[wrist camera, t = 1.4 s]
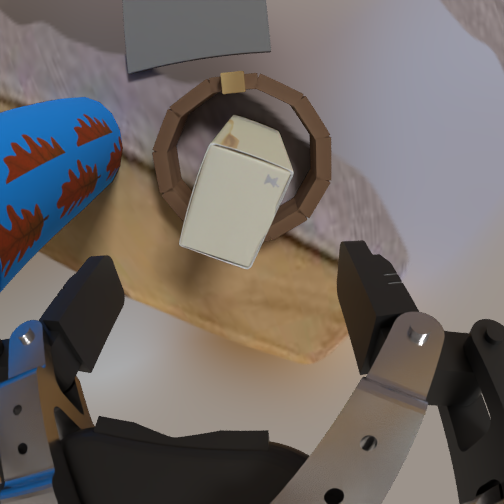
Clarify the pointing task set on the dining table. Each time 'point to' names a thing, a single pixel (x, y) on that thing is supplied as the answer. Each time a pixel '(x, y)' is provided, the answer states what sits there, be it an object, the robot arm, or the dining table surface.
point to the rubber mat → (192, 30)
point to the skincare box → (237, 192)
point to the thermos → (50, 172)
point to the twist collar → (236, 82)
